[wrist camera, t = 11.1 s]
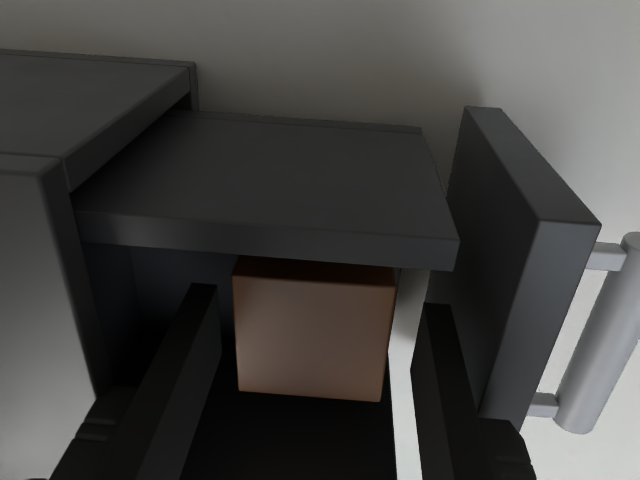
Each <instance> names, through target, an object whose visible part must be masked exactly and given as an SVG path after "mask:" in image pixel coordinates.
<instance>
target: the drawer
mask: <svg viewBox="0 0 640 480" xmlns="http://www.w3.org/2000/svg"><path fill="white" fill-rule="evenodd" d="M69 196H70V200H71V205H72V209H73V213H74V217H75V222H76V226H77V230H78V234H79V239H80V243H81V247H82V251H83V256H84V260H85V264H86V268H87V272H88V277H89V281H90V285H91V289H92V294H93V298H94V302H95V306H96V311H97V315H98V319H99V323H100V328H101V332H102V336H103V340H104V345H105V349H106V353H107V357H108V361H109V366H110V370H111V374H112V378H113V383H114V384H115V385H126V386H136V387H139V386H140V384H141V382H142V380H143V378H144V376H145V374H146V372H147V370H148V368H149V366H150V364H151V362H152V360H153V358H154V356H155V354H156V353H157V351H158V349H159V347H160V345H161V343H162V341H163V339H164V337H165V335H166V333H167V331H168V329H169V327H170V325H171V323H172V321H173V319H174V317H175V315H176V313H177V311H178V309H179V307H180V305H181V303H182V301H183V299H184V297H185V295H186V293H187V291H188V289H189V287H190V285H191V283H204V284H216V285H217V287H218V301H219V315H220V329H221V344H222V355H221V358H220V361H219V364H218V367H217V370H216V373H215V375H214V378H213V381H212V384H211V387H210V390H209V393H208V396H207V399H206V402H205V405H204V408H203V410H202V413H201V416H200V419H199V422H198V425H197V428H196V431H195V434H194V437H193V440H192V443H191V445H190V448H189V451H188V454H187V457H186V460H185V463H184V466H183V469H182V472H181V475H180V478H179V480H397V469H396V455H395V441H394V427H393V413H392V399H391V385H390V371H389V358H388V352H387V359H386V365H385V372H384V379H383V385H382V392H381V399H380V401H379V402H371V401H359V400H346V399H334V398H321V397H309V396H297V395H284V394H272V393H259V392H247V391H239V389H238V378H237V363H236V348H235V334H234V319H233V304H232V289H231V274H232V271H233V269H234V266H235V264H236V261H237V259H238V256H239V255H251V256H263V257H275V258H288V259H300V260H313V261H325V262H337V263H350V264H362V265H375V266H387V267H395V275H396V284H397V292H396V298H395V305H396V299H397V293H398V287H399V281H400V275H401V269H402V268H412V269H424V270H431V272H430V277H429V281H428V286H427V291H426V296H425V301H424V302H427V303H439V304H450V306H451V310H452V314H453V318H454V322H455V326H456V330H457V334H458V338H459V342H460V346H461V350H462V354H463V358H464V362H465V366H466V370H467V374H468V378H469V382H470V386H471V390H472V394H473V398H474V402H475V406H476V411H477V415H478V417H481V418H492V419H503V420H509V421H510V422H511V423H512V425H513V426H514V427H515V429H516V430H517V431H518V433H519V432H520V429H521V427H522V424H523V422H524V419H525V417H526V416H536V417H548V418H552V419H553V420H554V421H555V423H556V424H557V425H559V426H560V427H561V428H563V429H564V430H566V431H568V432H571V433H574V434H587V433H589V432H590V431H592V429H593V427H594V425H595V424H596V422H597V420H598V418H599V416H600V414H601V412H602V410H603V408H604V406H605V404H606V402H607V400H608V398H609V396H610V394H611V393H612V391H613V389H614V387H615V385H616V383H617V381H618V379H619V377H620V375H621V373H622V371H623V369H624V367H625V365H626V363H627V362H628V360H629V358H630V356H631V354H632V352H633V350H634V348H635V346H636V344H637V342H638V340H639V338H640V232H630V233H627V234H626V235H625V236H624V237H623V239H622V242H621V244H620V245H619V244H616V243H604V242H596V240H597V237H598V235H599V232H600V230H601V227H602V224H601V223H600V221H599V220H598V219H597V218H596V217H595V216H594V214H593V213H592V212H591V211H590V210H589V209H588V208H587V206H586V205H585V204H584V203H583V202H582V201H581V200H580V198H579V197H578V196H577V195H576V194H575V193H574V192H573V190H572V189H571V188H570V187H569V186H568V185H567V184H566V182H565V181H564V180H563V179H562V178H561V177H560V176H559V174H558V173H557V172H556V171H555V170H554V169H553V168H552V166H551V165H550V164H549V163H548V162H547V161H546V160H545V158H544V157H543V156H542V155H541V154H540V153H539V152H538V150H537V149H536V148H535V147H534V146H533V145H532V144H531V142H530V141H529V140H528V139H527V138H526V137H525V136H524V134H523V133H522V132H521V131H520V130H519V129H518V128H517V126H516V125H515V124H514V123H513V122H512V121H511V120H510V118H509V117H508V116H507V115H506V114H505V113H504V112H503V110H502V109H501V108H491V107H477V106H465V107H464V110H463V115H462V120H461V125H460V130H459V134H458V139H457V144H456V149H455V154H454V159H453V164H452V169H451V174H450V179H449V183H448V188H447V193H446V198H445V195H444V192H443V189H442V186H441V183H440V180H439V177H438V174H437V171H436V169H435V166H434V163H433V160H432V157H431V154H430V151H429V148H428V145H427V142H426V139H425V137H424V135H423V132H422V129H421V128H420V127H414V126H400V125H386V124H372V123H358V122H344V121H330V120H316V119H302V118H288V117H274V116H260V115H246V114H232V113H218V112H204V111H190V110H176V109H168V110H167V111H166V112H165V113H164V114H163V115H161V116H160V117H159V118H158V119H157V120H156V121H154V122H153V123H152V124H151V125H150V126H149V127H147V128H146V129H145V130H144V131H143V132H142V133H140V134H139V135H138V136H137V137H136V138H135V139H133V140H132V141H131V142H130V143H129V144H128V145H126V146H125V147H124V148H123V149H122V150H121V151H119V152H118V153H117V154H116V155H115V156H114V157H112V158H111V159H110V160H109V161H108V162H107V163H105V164H104V165H103V166H102V167H101V168H100V169H98V170H97V171H96V172H95V173H94V174H93V175H91V176H90V177H89V178H88V179H87V180H86V181H84V182H83V183H82V184H81V185H80V186H79V187H77V188H76V189H75V190H74V191H73V192H71V193H69ZM585 269H595V270H607V271H609V272H608V274H607V276H606V279H605V281H604V283H603V285H602V288H601V290H600V292H599V295H598V297H597V299H596V302H595V304H594V306H593V309H592V311H591V313H590V316H589V318H588V320H587V322H586V325H585V327H584V329H583V332H582V334H581V336H580V339H579V341H578V343H577V346H576V348H575V350H574V353H573V355H572V357H571V360H570V362H569V364H568V366H567V369H566V371H565V373H564V376H563V378H562V380H561V383H560V385H559V387H558V390H557V392H556V394H555V396H554V394H551V393H540V392H536V389H537V387H538V384H539V382H540V379H541V377H542V374H543V372H544V369H545V367H546V364H547V362H548V359H549V357H550V354H551V352H552V349H553V347H554V344H555V342H556V339H557V337H558V334H559V332H560V329H561V327H562V324H563V322H564V319H565V317H566V314H567V312H568V310H569V307H570V305H571V302H572V300H573V297H574V295H575V292H576V290H577V287H578V285H579V282H580V280H581V277H582V275H583V272H584V270H585ZM395 305H394V311H395ZM393 317H394V312H393ZM392 323H393V318H392ZM391 329H392V325H391ZM390 335H391V332H390ZM389 341H390V339H389ZM388 347H389V345H388Z"/></svg>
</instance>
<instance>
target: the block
mask: <svg viewBox="0 0 640 480" xmlns="http://www.w3.org/2000/svg"><path fill="white" fill-rule="evenodd" d="M231 289H232V304H233V319H234V334H235V348H236V363H237V378H238V389H239V391H247V392H259V393H272V394H284V395H297V396H309V397H321V398H334V399H346V400H359V401H371V402H379V401H380V399H381V392H382V385H383V379H384V372H385V365H386V359H387V352H388V345H389V339H390V332H391V325H392V318H393V312H394V305H395V298H396V292H397V284H396V275H395V267H387V266H375V265H362V264H350V263H337V262H325V261H313V260H300V259H288V258H275V257H263V256H251V255H239V256H238V259H237V261H236V264H235V266H234V269H233V271H232V274H231Z"/></svg>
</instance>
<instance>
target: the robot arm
mask: <svg viewBox="0 0 640 480" xmlns="http://www.w3.org/2000/svg"><path fill="white" fill-rule="evenodd" d="M221 355H222V344H221V329H220V315H219V301H218V287H217V285H216V284H204V283H191V285H190V287H189V289H188V291H187V293H186V295H185V297H184V299H183V301H182V303H181V305H180V307H179V309H178V311H177V313H176V315H175V317H174V319H173V321H172V323H171V325H170V327H169V329H168V331H167V333H166V335H165V337H164V339H163V341H162V343H161V345H160V347H159V349H158V351H157V353H156V354H155V356H154V358H153V360H152V362H151V364H150V366H149V368H148V370H147V372H146V374H145V376H144V378H143V380H142V382H141V384H140V386H139V387H136V386H126V385H115V384H113V385H112V386H111V387H110V388H108V389H107V390H106V391H105V392H104V393H103V394H102V395H100V396H99V397H98V398H97V399H96V400H95V401H94V403H93V405H92V406H91V408H90V410H89V412H88V413H87V415H86V417H85V418H84V422H83V423H81V425H80V427H79V429H78V430H77V432H76V434H75V438H74V439H72V441H71V442H70V444H69V446H68V447H67V449H66V451H65V452H64V454H63V456H62V458H61V459H60V461H59V463H58V464H57V466H56V468H55V469H54V471H53V473H52V475H51V476H50V478H49V480H179V478H180V475H181V472H182V469H183V466H184V463H185V460H186V457H187V454H188V451H189V448H190V445H191V443H192V440H193V437H194V434H195V431H196V428H197V425H198V422H199V419H200V416H201V413H202V410H203V408H204V405H205V402H206V399H207V396H208V393H209V390H210V387H211V384H212V381H213V378H214V375H215V373H216V370H217V367H218V364H219V361H220V358H221ZM410 374H411V383H412V392H413V400H414V409H415V418H416V426H417V435H418V444H419V453H420V461H421V470H422V479H423V480H536V479H537V478H536V475H535V472H534V469H533V466H532V465H531V460H530V457H529V454H528V451H527V448H526V445H525V442H524V439H523V438H522V436H521V435H520V434H519V433H518V431H517V430H516V429H515V427H514V426H513V425H512V423H511V422H510V421H509V420H503V419H492V418H481V417H478V415H477V411H476V406H475V402H474V398H473V394H472V390H471V386H470V382H469V378H468V374H467V370H466V366H465V362H464V358H463V354H462V350H461V346H460V342H459V338H458V334H457V330H456V326H455V322H454V318H453V314H452V310H451V306H450V304H439V303H427V302H424V304H423V309H422V314H421V319H420V323H419V328H418V333H417V338H416V343H415V348H414V353H413V358H412V363H411V368H410ZM28 480H48V479H45V478H31V479H28Z"/></svg>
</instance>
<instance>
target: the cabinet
mask: <svg viewBox="0 0 640 480" xmlns="http://www.w3.org/2000/svg"><path fill="white" fill-rule="evenodd" d="M168 109H176V110H190V111H199V100H198V87H197V74H196V63H195V62H188V61H173V60H158V59H144V58H129V57H114V56H100V55H85V54H70V53H56V52H41V51H26V50H12V49H0V480H28V479H31V478H45V479H48V480H49V478H50V476H51V475H52V473H53V471H54V469H55V468H56V466H57V464H58V463H59V461H60V459H61V458H62V456H63V454H64V452H65V451H66V449H67V447H68V446H69V444H70V442H71V441H72V439H74V438H75V434H76V432H77V430H78V429H79V427H80V425H81V423H83V422H84V418H85V417H86V415H87V413H88V412H89V410H90V408H91V406H92V405H93V403H94V401H95V400H96V399H97V398H98V397H99V396H100V395H102V394H103V393H104V392H105V391H106V390H107V389H108V388H110V387H111V386H112V385H113V384H114V383H113V378H112V374H111V370H110V366H109V361H108V357H107V353H106V349H105V345H104V340H103V336H102V332H101V328H100V323H99V319H98V315H97V311H96V306H95V302H94V298H93V294H92V289H91V285H90V281H89V277H88V272H87V268H86V264H85V260H84V256H83V251H82V247H81V243H80V239H79V234H78V230H77V226H76V222H75V217H74V213H73V209H72V205H71V200H70V196H69V193H71V192H73V191H74V190H75V189H76V188H77V187H79V186H80V185H81V184H82V183H83V182H84V181H86V180H87V179H88V178H89V177H90V176H91V175H93V174H94V173H95V172H96V171H97V170H98V169H100V168H101V167H102V166H103V165H104V164H105V163H107V162H108V161H109V160H110V159H111V158H112V157H114V156H115V155H116V154H117V153H118V152H119V151H121V150H122V149H123V148H124V147H125V146H126V145H128V144H129V143H130V142H131V141H132V140H133V139H135V138H136V137H137V136H138V135H139V134H140V133H142V132H143V131H144V130H145V129H146V128H147V127H149V126H150V125H151V124H152V123H153V122H154V121H156V120H157V119H158V118H159V117H160V116H161V115H163V114H164V113H165V112H166V111H167V110H168Z"/></svg>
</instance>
